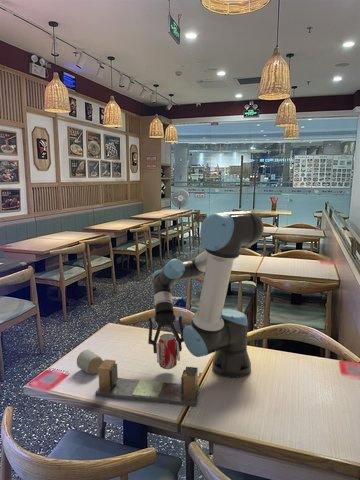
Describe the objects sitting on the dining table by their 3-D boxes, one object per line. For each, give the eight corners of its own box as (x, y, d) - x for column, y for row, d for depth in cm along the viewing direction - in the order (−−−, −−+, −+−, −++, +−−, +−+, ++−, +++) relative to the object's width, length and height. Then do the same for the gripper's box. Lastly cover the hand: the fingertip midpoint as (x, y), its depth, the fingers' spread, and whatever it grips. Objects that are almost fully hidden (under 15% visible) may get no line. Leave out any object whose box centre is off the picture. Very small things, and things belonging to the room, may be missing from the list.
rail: (199, 389, 125) (199, 364, 123) (195, 407, 115) (195, 380, 114) (106, 380, 131) (105, 356, 130) (95, 396, 122) (94, 370, 120)
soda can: (176, 370, 132) (176, 340, 130) (158, 370, 132) (157, 340, 130) (177, 361, 139) (176, 332, 137) (159, 361, 139) (158, 332, 137)
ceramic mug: (89, 378, 133) (88, 359, 131) (76, 371, 138) (75, 353, 137) (111, 367, 141) (110, 349, 140) (98, 361, 146) (97, 344, 145)
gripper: (186, 307, 149) (193, 361, 136) (139, 310, 147) (142, 366, 133) (188, 299, 143) (195, 355, 130) (139, 302, 141) (141, 359, 127)
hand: (168, 360), depth 132 cm, fingers closed on soda can, 7 cm apart
